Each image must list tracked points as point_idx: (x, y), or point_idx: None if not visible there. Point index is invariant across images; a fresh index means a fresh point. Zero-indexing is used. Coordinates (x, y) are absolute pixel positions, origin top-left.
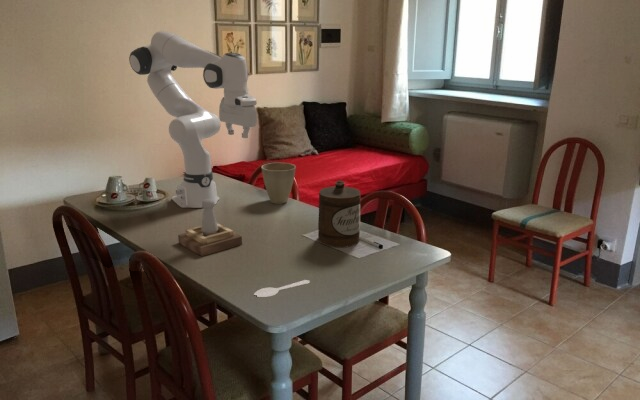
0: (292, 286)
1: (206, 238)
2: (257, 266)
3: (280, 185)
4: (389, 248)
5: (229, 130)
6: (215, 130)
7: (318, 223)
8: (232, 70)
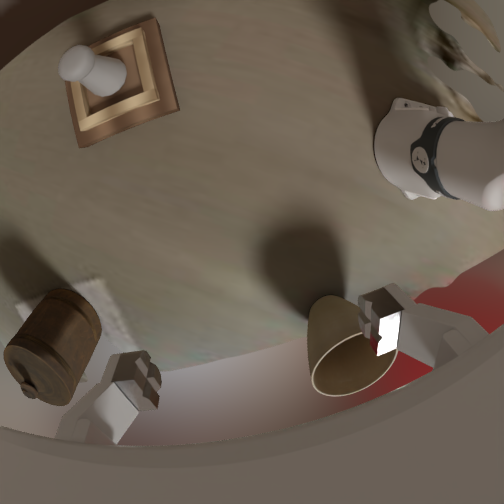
0: None
1: None
2: (6, 157)
3: (311, 336)
4: None
5: (386, 315)
6: None
7: (58, 308)
8: None
